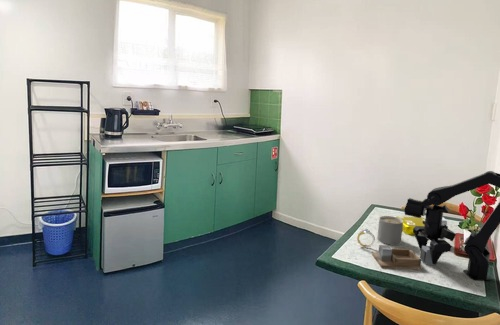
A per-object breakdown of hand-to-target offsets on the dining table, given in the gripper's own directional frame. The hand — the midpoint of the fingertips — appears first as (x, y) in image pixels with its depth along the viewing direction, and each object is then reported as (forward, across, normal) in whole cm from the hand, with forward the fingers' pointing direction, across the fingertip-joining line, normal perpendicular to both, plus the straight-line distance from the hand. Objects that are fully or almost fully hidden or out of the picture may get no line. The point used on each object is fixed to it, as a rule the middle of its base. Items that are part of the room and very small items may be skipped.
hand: (428, 258), depth 138 cm
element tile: (+2, +36, -11) cm, 38 cm away
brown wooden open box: (+2, -1, +13) cm, 13 cm away
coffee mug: (+2, +22, +7) cm, 23 cm away
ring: (+2, +12, +21) cm, 24 cm away
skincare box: (+2, +19, -13) cm, 23 cm away
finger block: (+2, 0, 0) cm, 2 cm away
